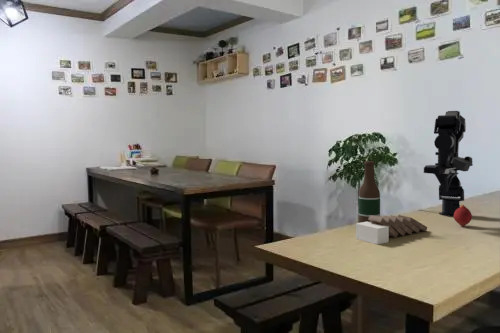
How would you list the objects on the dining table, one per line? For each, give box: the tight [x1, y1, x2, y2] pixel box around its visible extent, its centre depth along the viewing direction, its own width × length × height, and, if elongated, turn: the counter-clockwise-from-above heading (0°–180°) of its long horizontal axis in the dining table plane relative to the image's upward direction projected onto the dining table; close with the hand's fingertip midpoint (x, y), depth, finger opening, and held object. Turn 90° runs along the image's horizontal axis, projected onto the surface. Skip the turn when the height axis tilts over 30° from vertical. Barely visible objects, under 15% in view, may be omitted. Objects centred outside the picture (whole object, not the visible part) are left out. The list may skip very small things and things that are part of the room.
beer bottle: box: [357, 160, 381, 223], centre depth 152 cm, size 8×8×24 cm
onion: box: [453, 203, 473, 227], centre depth 150 cm, size 6×6×8 cm
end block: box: [355, 222, 390, 245], centre depth 133 cm, size 5×9×5 cm, turn 32°
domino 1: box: [368, 215, 399, 239], centre depth 136 cm, size 2×5×10 cm
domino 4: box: [390, 215, 421, 234], centre depth 141 cm, size 2×5×10 cm
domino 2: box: [377, 215, 406, 237], centre depth 138 cm, size 2×5×10 cm
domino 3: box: [382, 215, 413, 236], centre depth 139 cm, size 2×5×10 cm
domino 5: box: [397, 214, 428, 232], centre depth 143 cm, size 2×5×10 cm
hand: (445, 191), depth 155 cm, fingers closed
